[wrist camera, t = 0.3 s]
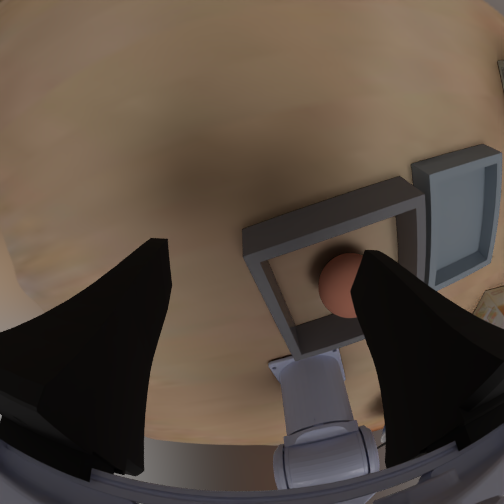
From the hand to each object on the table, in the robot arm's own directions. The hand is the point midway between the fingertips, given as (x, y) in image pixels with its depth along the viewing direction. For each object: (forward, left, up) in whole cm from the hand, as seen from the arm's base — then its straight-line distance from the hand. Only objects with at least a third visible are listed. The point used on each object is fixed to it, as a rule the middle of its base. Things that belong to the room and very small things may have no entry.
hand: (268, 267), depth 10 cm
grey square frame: (-9, -4, -10) cm, 14 cm away
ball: (-9, -4, -7) cm, 13 cm away
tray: (-8, -16, -10) cm, 21 cm away
